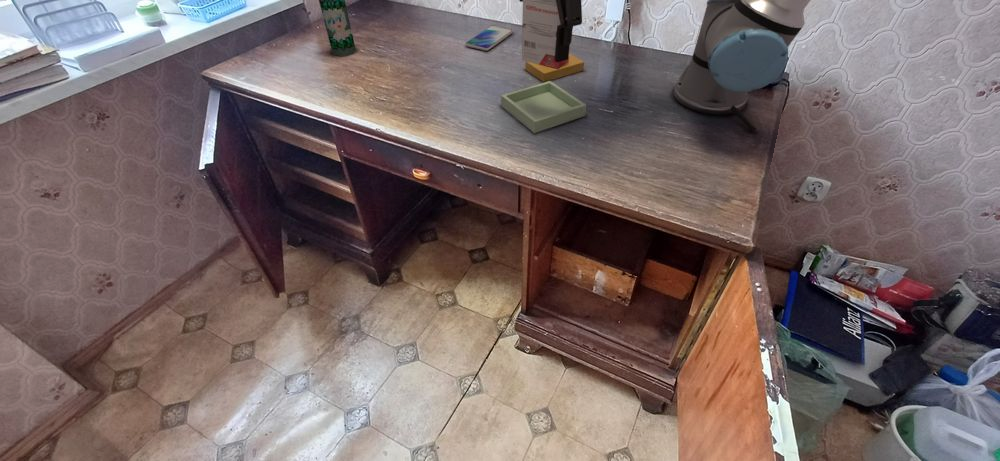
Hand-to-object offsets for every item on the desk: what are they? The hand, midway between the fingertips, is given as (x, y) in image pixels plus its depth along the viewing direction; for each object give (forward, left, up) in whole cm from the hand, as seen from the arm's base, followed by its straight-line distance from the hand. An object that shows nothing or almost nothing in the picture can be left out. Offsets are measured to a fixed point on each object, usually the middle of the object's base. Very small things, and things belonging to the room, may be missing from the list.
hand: (545, 50), depth 92 cm
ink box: (0, 0, -2) cm, 2 cm away
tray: (0, 0, -13) cm, 13 cm away
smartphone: (+40, -10, -13) cm, 43 cm away
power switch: (+15, -14, -13) cm, 24 cm away
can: (+54, +27, -13) cm, 62 cm away
